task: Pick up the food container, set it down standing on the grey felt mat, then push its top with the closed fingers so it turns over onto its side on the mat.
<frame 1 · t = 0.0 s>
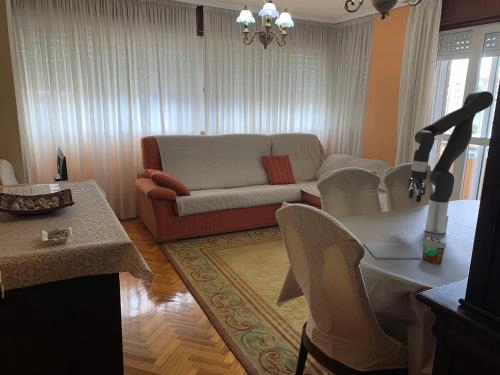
hand: (414, 200, 194), 17 cm above the table, tool pointing down, fingers open, 8 cm apart
felt mat: (390, 251, 170), on the table
food container: (428, 260, 161), on the table
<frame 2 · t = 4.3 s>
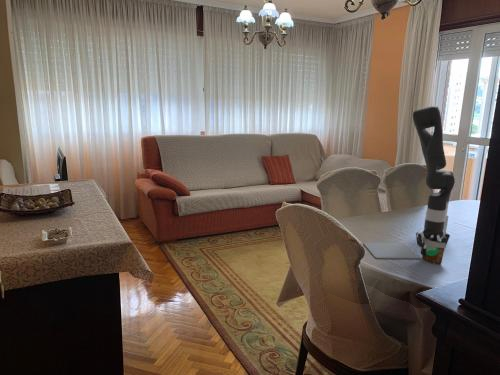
hand: (429, 255, 161), 2 cm above the table, tool pointing down, fingers closed on food container, 5 cm apart
food container: (428, 260, 161), on the table, touching gripper
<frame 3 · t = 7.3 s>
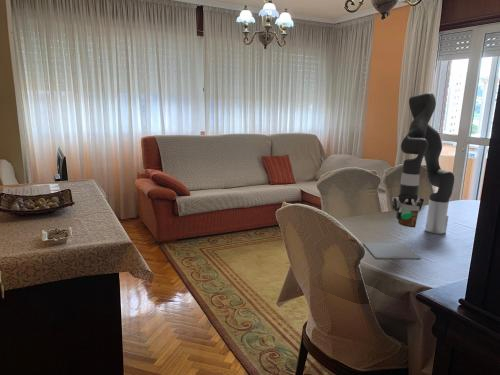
hand: (405, 219, 167), 15 cm above the table, tool pointing down, fingers closed on food container, 5 cm apart
food container: (403, 224, 167), point 13 cm above the table, touching gripper
when the fingers open (4 cm above the table, at t = 10.1 s): food container drops 1 cm, resting on felt mat.
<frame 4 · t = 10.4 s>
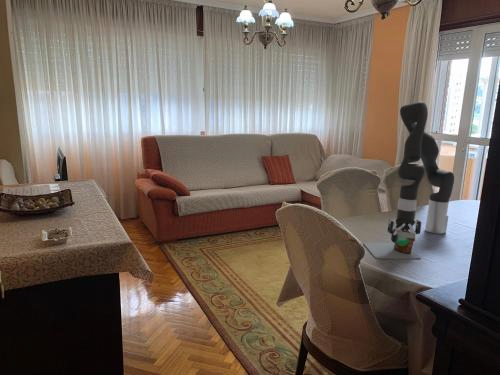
hand: (402, 242, 169), 5 cm above the table, tool pointing down, fingers open, 8 cm apart
food container: (398, 250, 170), point 1 cm above the table, touching felt mat, gripper
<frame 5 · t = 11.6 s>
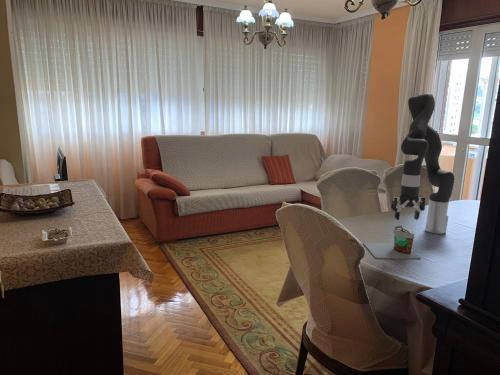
hand: (406, 219, 166), 16 cm above the table, tool pointing down, fingers open, 8 cm apart
food container: (398, 250, 170), resting on felt mat
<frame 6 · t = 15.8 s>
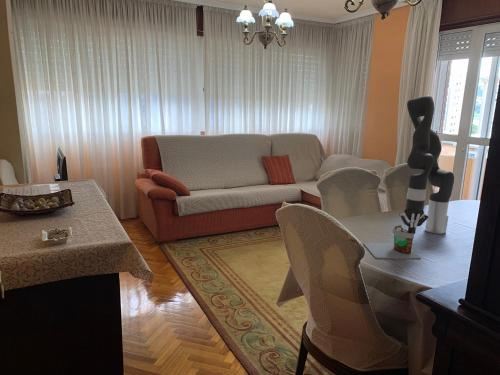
hand: (411, 234, 168), 8 cm above the table, tool pointing down, fingers closed
food container: (398, 250, 170), resting on felt mat, touching gripper
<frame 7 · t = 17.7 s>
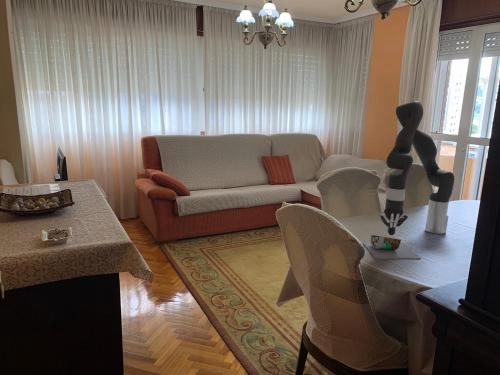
hand: (390, 234, 168), 8 cm above the table, tool pointing down, fingers closed
food container: (396, 245, 170), point 3 cm above the table, touching felt mat
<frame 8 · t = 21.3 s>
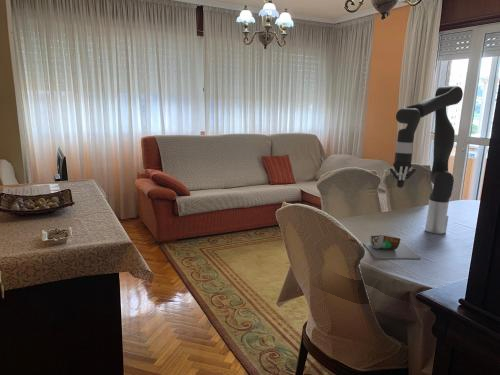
hand: (399, 187, 177), 27 cm above the table, tool pointing down, fingers closed
nothing on the table moved.
at the end: food container tilted 82°; food container inside the target area (3.9 cm from its centre), point 2.7 cm above the table; the gripper is holding nothing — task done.
